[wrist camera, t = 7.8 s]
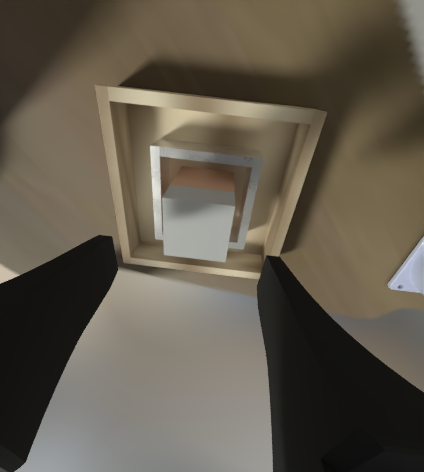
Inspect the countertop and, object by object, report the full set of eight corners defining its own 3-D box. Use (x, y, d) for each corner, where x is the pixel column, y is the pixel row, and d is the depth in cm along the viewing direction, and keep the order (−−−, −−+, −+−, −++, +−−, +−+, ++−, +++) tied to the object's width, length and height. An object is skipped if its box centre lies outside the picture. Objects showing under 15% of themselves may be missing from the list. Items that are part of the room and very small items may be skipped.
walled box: (311, 108, 15) (327, 112, 12) (266, 258, 22) (270, 280, 19) (117, 85, 15) (94, 84, 12) (135, 243, 22) (123, 262, 20)
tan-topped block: (233, 172, 17) (235, 206, 12) (226, 217, 19) (225, 262, 14) (182, 166, 17) (162, 197, 12) (181, 212, 19) (163, 254, 14)
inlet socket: (259, 149, 16) (263, 158, 14) (242, 233, 20) (243, 249, 18) (160, 138, 16) (149, 145, 14) (162, 223, 20) (155, 239, 18)
